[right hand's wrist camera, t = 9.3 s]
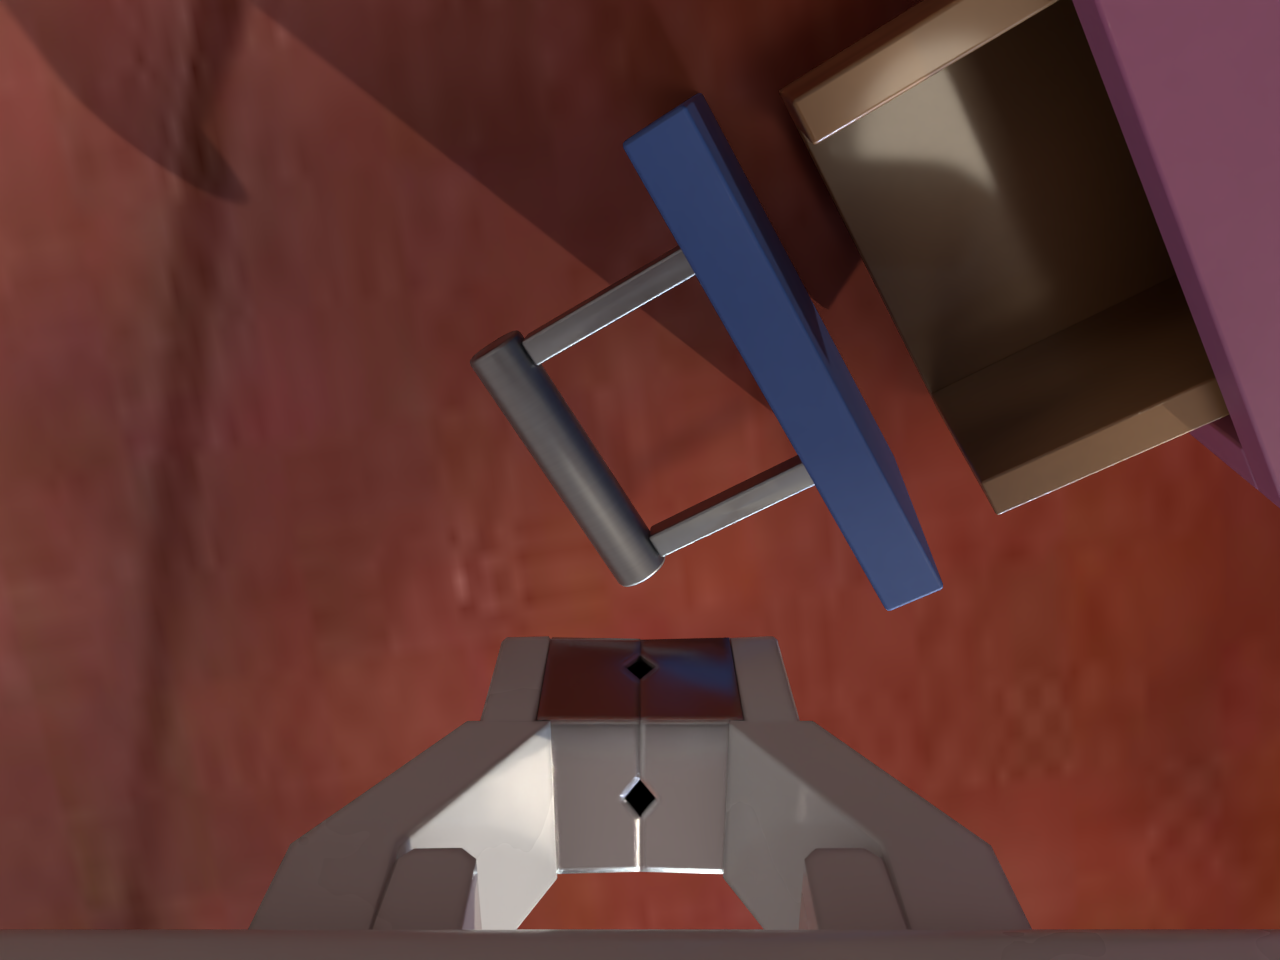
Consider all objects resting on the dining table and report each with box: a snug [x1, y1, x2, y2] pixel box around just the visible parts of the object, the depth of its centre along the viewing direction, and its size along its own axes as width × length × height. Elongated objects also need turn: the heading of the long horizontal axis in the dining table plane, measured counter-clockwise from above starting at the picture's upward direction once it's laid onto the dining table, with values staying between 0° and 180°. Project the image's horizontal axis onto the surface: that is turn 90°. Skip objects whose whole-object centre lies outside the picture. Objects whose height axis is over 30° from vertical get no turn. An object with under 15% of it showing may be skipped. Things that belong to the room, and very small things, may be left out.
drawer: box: [470, 0, 1229, 611], centre depth 17 cm, size 23×10×6 cm, turn 121°
